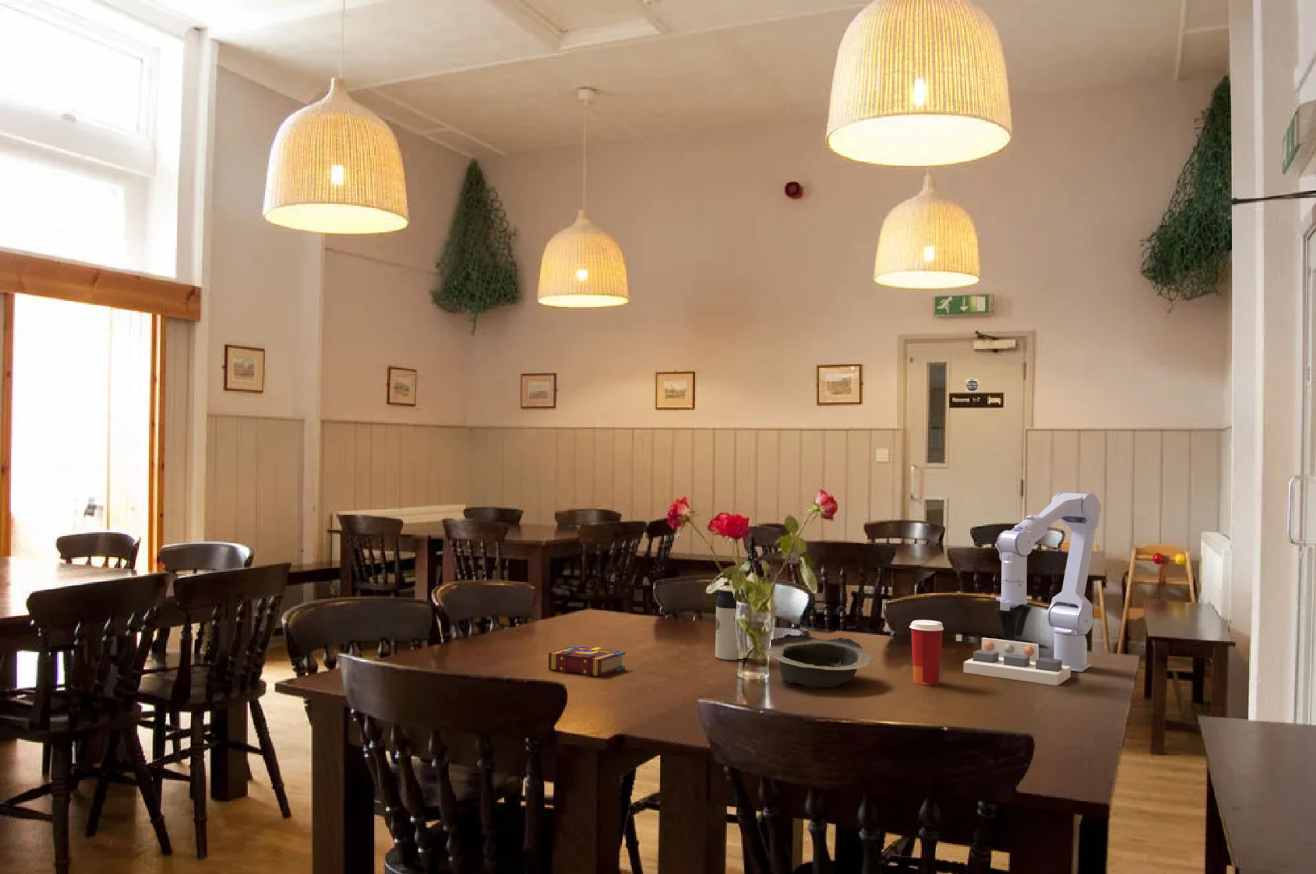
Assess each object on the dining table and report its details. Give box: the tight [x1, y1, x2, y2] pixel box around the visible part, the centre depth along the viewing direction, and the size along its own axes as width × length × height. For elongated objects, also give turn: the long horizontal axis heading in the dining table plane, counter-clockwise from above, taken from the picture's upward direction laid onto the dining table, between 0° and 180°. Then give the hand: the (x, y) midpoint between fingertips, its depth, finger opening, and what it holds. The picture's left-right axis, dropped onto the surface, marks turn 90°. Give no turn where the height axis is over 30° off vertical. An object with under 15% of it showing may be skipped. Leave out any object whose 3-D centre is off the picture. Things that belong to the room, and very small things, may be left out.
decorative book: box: [547, 644, 626, 677], centre depth 246 cm, size 11×16×5 cm
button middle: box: [1004, 653, 1030, 668], centre depth 248 cm, size 5×5×3 cm
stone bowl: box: [766, 633, 874, 689], centre depth 237 cm, size 25×25×9 cm
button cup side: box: [1036, 657, 1062, 672], centre depth 244 cm, size 5×5×3 cm
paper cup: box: [909, 619, 945, 686], centre depth 238 cm, size 8×8×14 cm
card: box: [981, 637, 1040, 662], centre depth 260 cm, size 1×14×6 cm, turn 54°
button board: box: [963, 657, 1072, 687], centre depth 248 cm, size 12×22×2 cm, turn 54°
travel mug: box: [714, 585, 738, 661], centre depth 263 cm, size 8×8×18 cm
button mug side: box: [972, 649, 999, 663], centre depth 253 cm, size 5×5×3 cm
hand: (1013, 637), depth 246 cm, fingers open, 6 cm apart
